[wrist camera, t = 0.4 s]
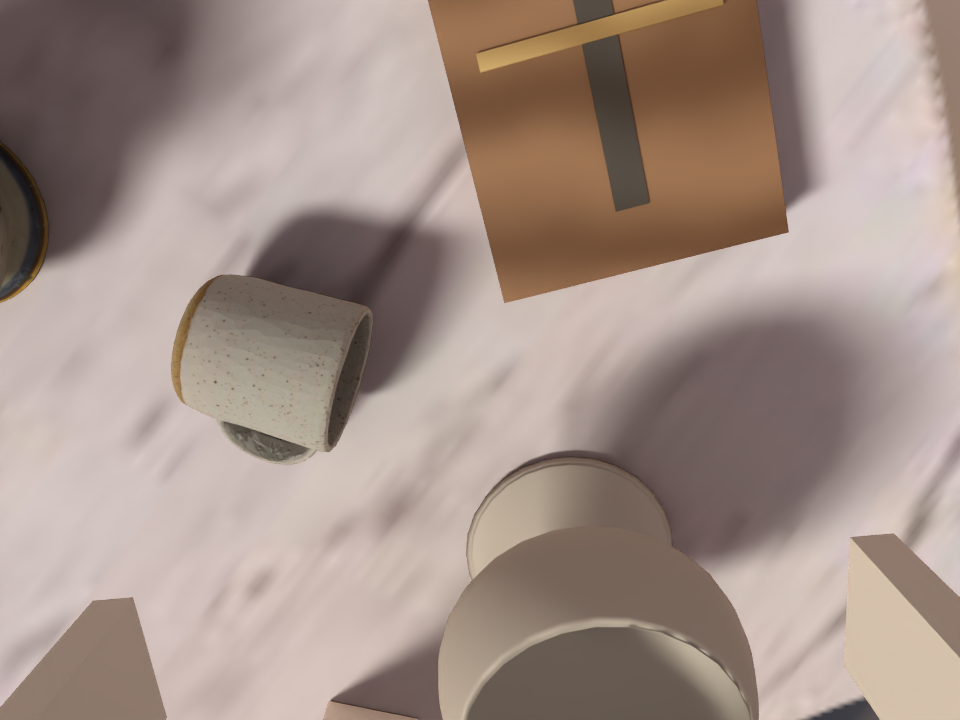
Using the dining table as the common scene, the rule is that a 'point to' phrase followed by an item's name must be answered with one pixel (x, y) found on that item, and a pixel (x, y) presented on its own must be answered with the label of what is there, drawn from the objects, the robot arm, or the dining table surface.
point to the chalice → (588, 609)
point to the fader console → (611, 132)
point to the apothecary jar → (19, 226)
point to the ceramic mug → (271, 364)
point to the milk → (358, 713)
